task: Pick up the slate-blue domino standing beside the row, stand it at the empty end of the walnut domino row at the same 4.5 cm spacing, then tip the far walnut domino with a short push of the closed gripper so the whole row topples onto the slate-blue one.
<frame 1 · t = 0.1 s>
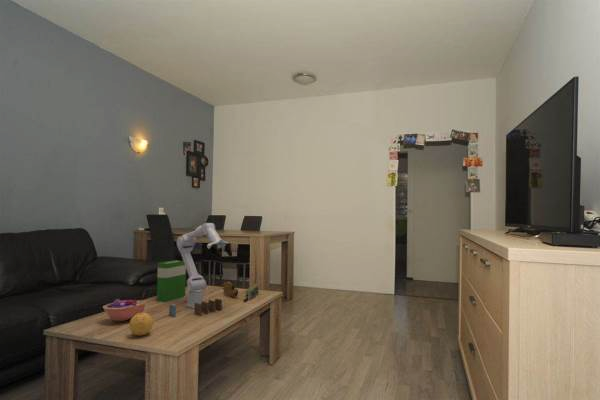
hand: (225, 256, 192), 32 cm above the table, tool tilted 50°, fingers open, 7 cm apart
domino 1: (218, 309, 202), on the table
stress ball: (140, 335, 159), on the table
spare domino: (172, 316, 189), on the table
handheld radio: (250, 298, 231), on the table
domino 4: (197, 314, 191), on the table
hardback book: (171, 299, 228), on the table
domino 3: (204, 313, 195), on the table
domino 2: (211, 311, 198), on the table
wooden carving: (230, 297, 234), on the table
cell model: (124, 320, 181), on the table
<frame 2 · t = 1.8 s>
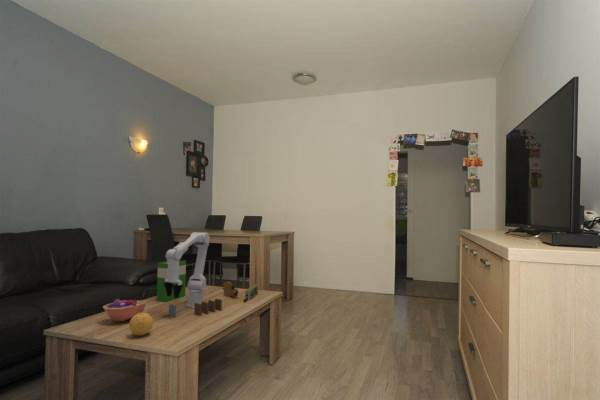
hand: (172, 296, 189), 10 cm above the table, tool pointing down, fingers open, 7 cm apart
nothing on the table moved.
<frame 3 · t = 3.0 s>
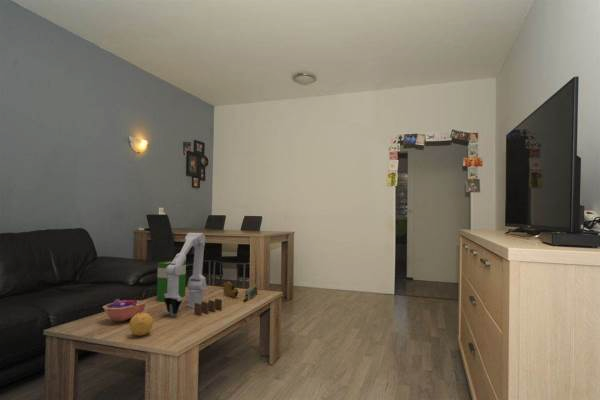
hand: (172, 312, 189), 2 cm above the table, tool pointing down, fingers closed on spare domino, 5 cm apart
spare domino: (172, 316, 189), on the table, touching gripper
everything else where it was.
when the fingers open (3 cm above the table, at t = 7.8 s): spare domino drops 1 cm, on the table.
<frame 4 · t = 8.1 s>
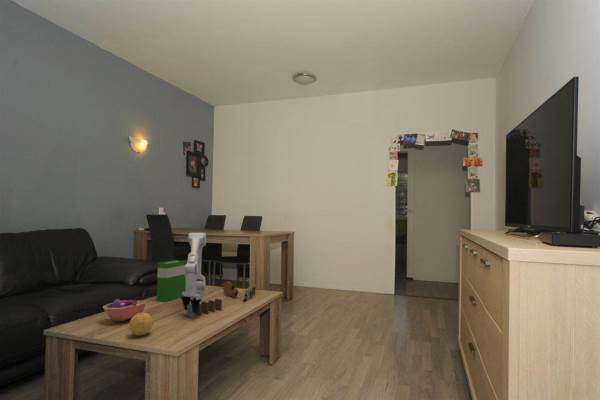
hand: (190, 311, 188), 3 cm above the table, tool pointing down, fingers open, 7 cm apart
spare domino: (190, 316, 188), on the table
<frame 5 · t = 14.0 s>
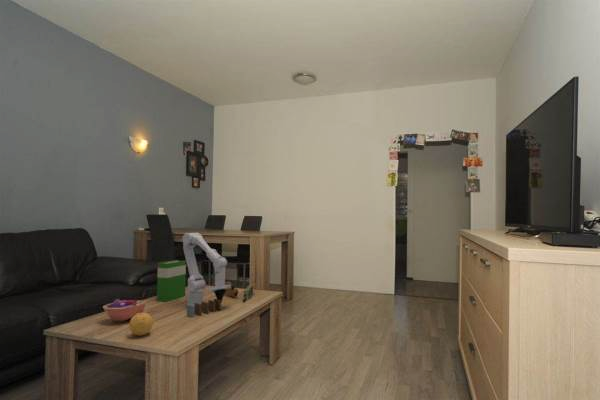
hand: (219, 302, 202), 4 cm above the table, tool pointing down, fingers closed
domino 1: (218, 309, 202), on the table, tilted 10°
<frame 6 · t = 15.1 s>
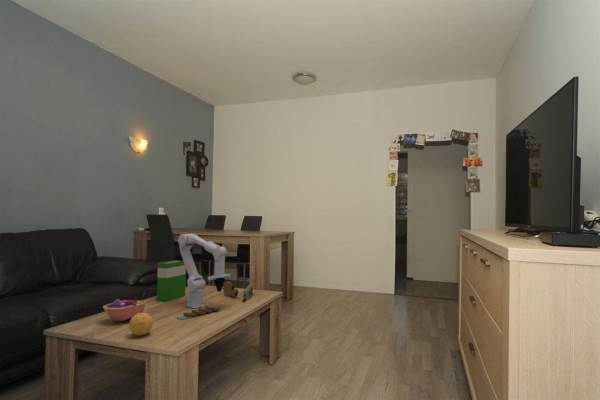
hand: (219, 291, 203), 10 cm above the table, tool pointing down, fingers closed
domino 1: (216, 309, 201), point 1 cm above the table, tilted 75°
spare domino: (189, 316, 187), on the table, tilted 91°, touching domino 4
domino 4: (195, 314, 190), on the table, tilted 80°, touching domino 3, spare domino
domino 3: (203, 312, 194), on the table, tilted 76°, touching domino 2, domino 4
domino 2: (209, 310, 197), point 1 cm above the table, tilted 74°, touching domino 3
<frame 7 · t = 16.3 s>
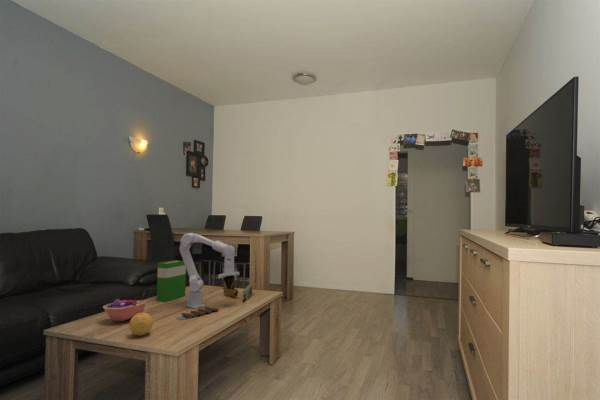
hand: (228, 288, 210), 10 cm above the table, tool pointing down, fingers closed
domino 1: (215, 309, 200), point 1 cm above the table, tilted 75°, touching domino 2
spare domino: (189, 317, 187), on the table, tilted 91°
domino 4: (194, 314, 189), point 1 cm above the table, tilted 80°, touching domino 3
domino 2: (209, 311, 197), point 1 cm above the table, tilted 75°, touching domino 1, domino 3
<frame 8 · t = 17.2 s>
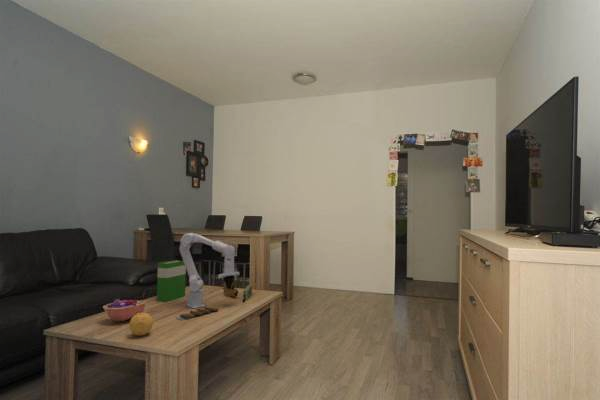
hand: (228, 288, 210), 10 cm above the table, tool pointing down, fingers closed
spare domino: (188, 317, 187), on the table, tilted 90°, touching domino 4
domino 4: (192, 314, 188), point 1 cm above the table, tilted 84°, touching domino 3, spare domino
domino 3: (201, 313, 193), point 1 cm above the table, tilted 76°, touching domino 4
domino 2: (208, 311, 196), point 1 cm above the table, tilted 74°, touching domino 1
at the end: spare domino tilted 90°; domino 4 tilted 84°; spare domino inside the target area (0.1 cm from its centre), on the table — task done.
